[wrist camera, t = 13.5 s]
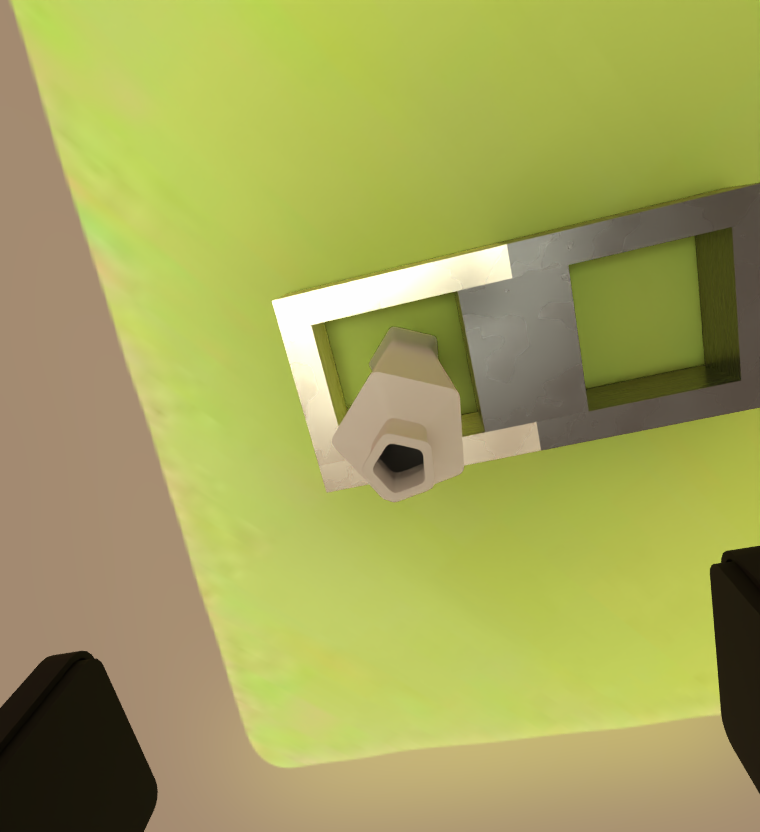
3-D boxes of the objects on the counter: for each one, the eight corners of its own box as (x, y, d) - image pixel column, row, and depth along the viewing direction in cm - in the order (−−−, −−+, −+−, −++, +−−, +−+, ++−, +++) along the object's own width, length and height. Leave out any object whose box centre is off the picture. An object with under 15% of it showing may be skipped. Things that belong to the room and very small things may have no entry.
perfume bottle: (357, 323, 31) (308, 398, 16) (441, 315, 30) (464, 386, 16) (366, 406, 32) (328, 543, 18) (446, 399, 32) (473, 534, 17)
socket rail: (724, 187, 28) (766, 181, 24) (736, 385, 31) (776, 404, 27) (287, 293, 30) (271, 300, 27) (335, 466, 33) (326, 492, 30)
